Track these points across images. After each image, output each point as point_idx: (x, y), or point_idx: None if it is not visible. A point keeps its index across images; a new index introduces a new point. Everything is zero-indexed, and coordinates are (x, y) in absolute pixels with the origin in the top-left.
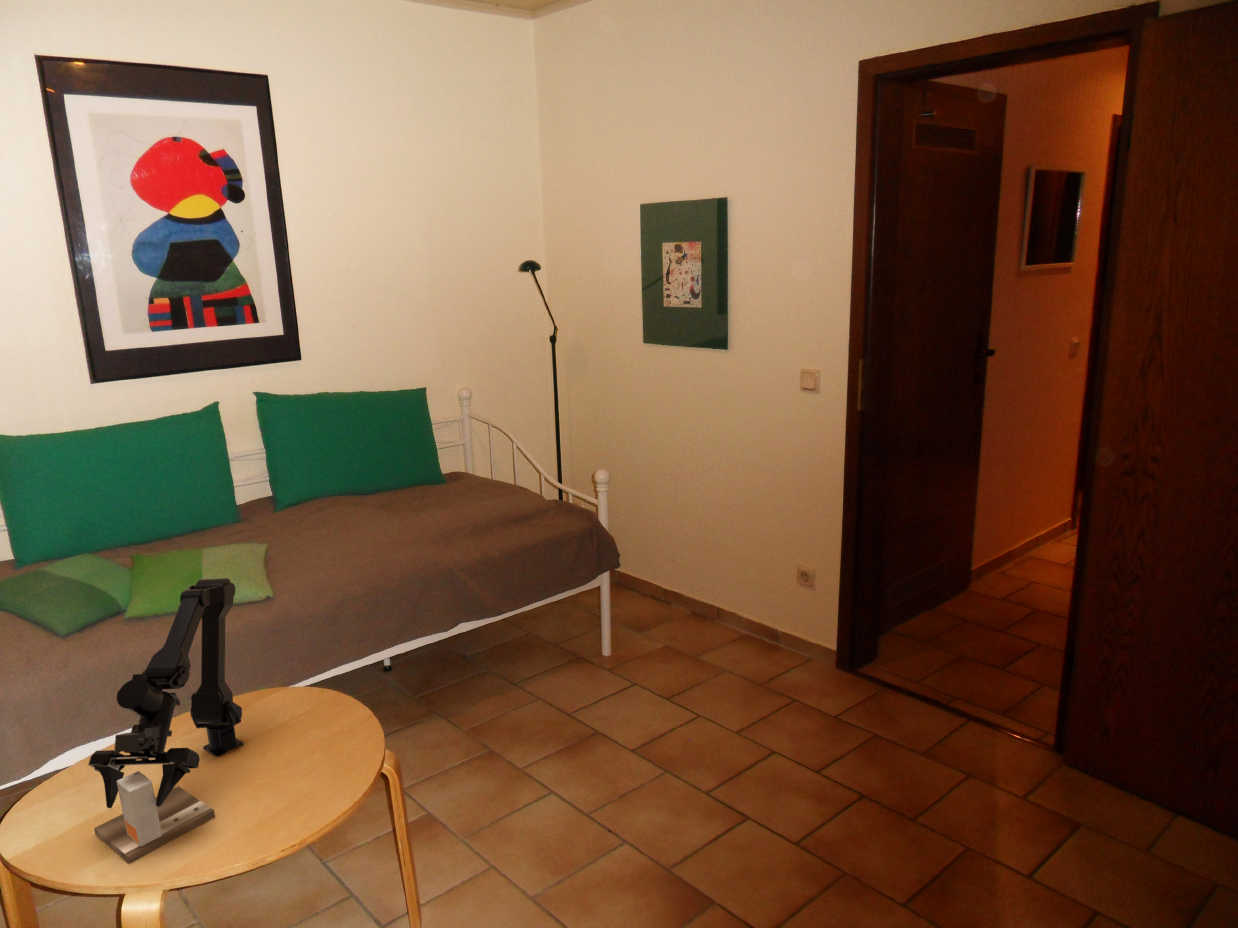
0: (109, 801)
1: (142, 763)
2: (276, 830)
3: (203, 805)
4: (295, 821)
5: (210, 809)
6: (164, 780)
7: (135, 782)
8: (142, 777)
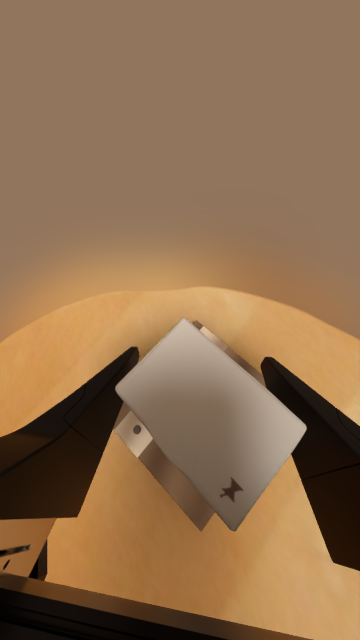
0: (274, 366)
1: (215, 633)
2: (27, 366)
3: (128, 439)
4: (4, 383)
5: (114, 425)
6: (74, 404)
7: (190, 390)
8: (174, 436)
